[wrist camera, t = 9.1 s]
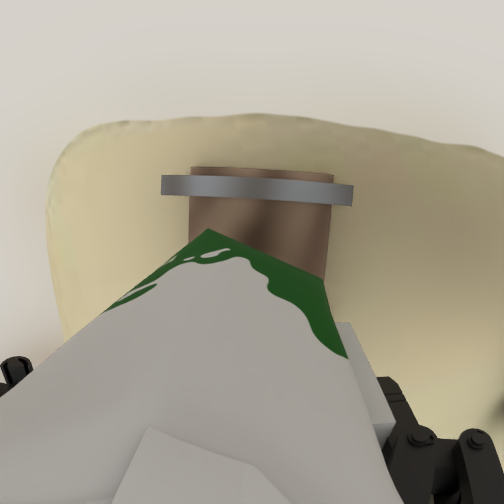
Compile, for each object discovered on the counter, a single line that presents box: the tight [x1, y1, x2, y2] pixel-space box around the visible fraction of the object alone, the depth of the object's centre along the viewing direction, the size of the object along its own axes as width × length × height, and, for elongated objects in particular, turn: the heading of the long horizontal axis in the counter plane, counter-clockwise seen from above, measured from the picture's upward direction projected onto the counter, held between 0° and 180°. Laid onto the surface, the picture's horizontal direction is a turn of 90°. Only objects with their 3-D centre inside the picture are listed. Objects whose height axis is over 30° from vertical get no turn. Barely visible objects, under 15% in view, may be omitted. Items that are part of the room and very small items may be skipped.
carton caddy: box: [161, 167, 353, 283], centre depth 27 cm, size 14×17×9 cm
